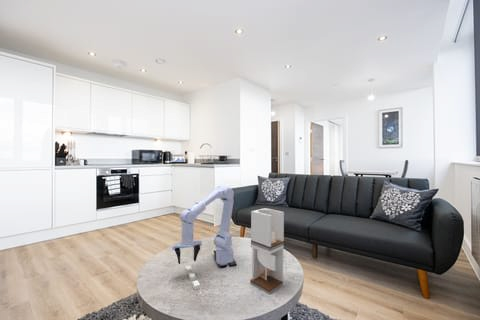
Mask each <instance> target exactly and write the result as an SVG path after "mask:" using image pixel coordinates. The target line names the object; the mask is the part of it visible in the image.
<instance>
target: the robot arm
mask: <svg viewBox="0 0 480 320" xmlns="http://www.w3.org/2000/svg"><path fill="white" fill-rule="evenodd" d="M234 194H235V191H234V190H233V189H232V188H231V187H226V186H221V185H219V186H216V188H214V189H213V191H212V192H210V194H208V195H207V196H206V197H205V198H203V200H197V201H195V203H194V204H193V205H192V206H190V207H188V208H187V209H184V210H182V212H181V213H180V215H179V219H180V222H181V242H178V243H174V244H172V245H171V250H172V251H174V252H175V255H176V257H177V263H178V264H179V265H181V252H182V251H181V249H186V248H192V247H193V261H194V262H197V257H198V254H199V252H200V251H201V247H202V246H203V241H202V240H194V226H195V225H194V223H195V221H196V220H197V218H198V216H199V215H200V214H201V213H203V212H204V211H206V207H207V206H209V205H210V204H211V203H213V202H214V201H216V200H217V199H220V201H221V202H223V208H222V214H221V219H220V225H219V231H217V232H216V233H215V236H214V239H213V244H214V245H215V249H216V253H215V254H216V255H215V259H216V260H215V261H216V264H218V265H227V264H230V263H234V250H233V247H232V245H233V241H232V240H233V239H232V234H231V233H230V228H231V221H232V214H233V208H234V196H235V195H234Z"/></svg>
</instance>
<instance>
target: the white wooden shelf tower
mask: <svg viewBox="0 0 480 320" xmlns="http://www.w3.org/2000/svg"><path fill="white" fill-rule="evenodd" d="M250 213H251V215H250V217H251V218H250V220H251V221H250V225H251V226H250V248H251V250H252V252H251V253H252V254H251V255H252V257H251V258H252V259H251V279H250V280H249V281H250V285H251V286H253V287H254V288H256V289H258V290H260V291H262V292H263V293H266V294H267V295H270V294H272V293H274V292H275V291H276V290H278V289H280V288H281V287H283V286H284V246H285V245H284V241H285V239H284V237H285V235H284V234H285V233H284V232H285V230H284V229H285V212H284V211H281V210H276V209H272V208H264V207H263V208H260V209H256V210H251V212H250ZM282 285H283V286H282Z"/></svg>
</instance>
